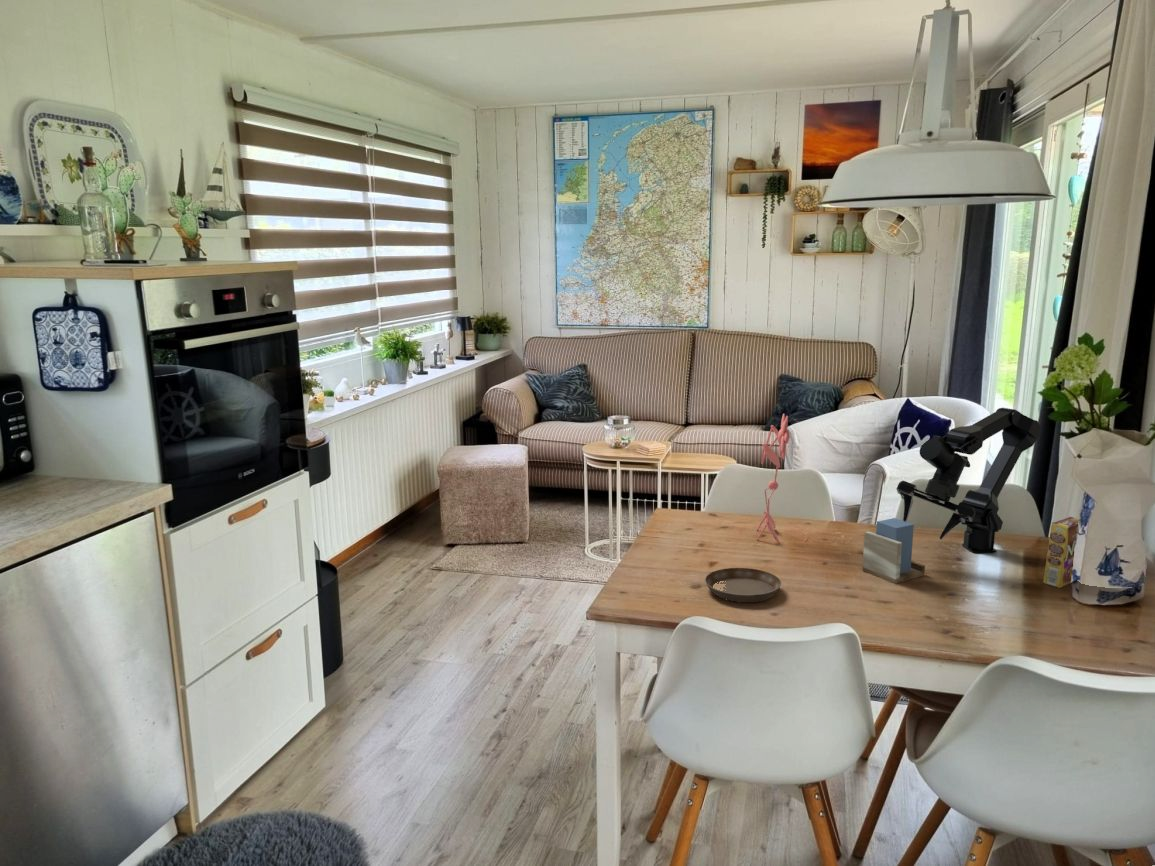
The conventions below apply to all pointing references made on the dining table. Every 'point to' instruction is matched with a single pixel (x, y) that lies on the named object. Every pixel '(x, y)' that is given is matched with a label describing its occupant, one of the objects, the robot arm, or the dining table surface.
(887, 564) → the wooden stand
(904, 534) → the blue-grey rectangular block
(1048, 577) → the candy box
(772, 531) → the figurine
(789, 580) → the dining table surface
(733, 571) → the plant saucer
